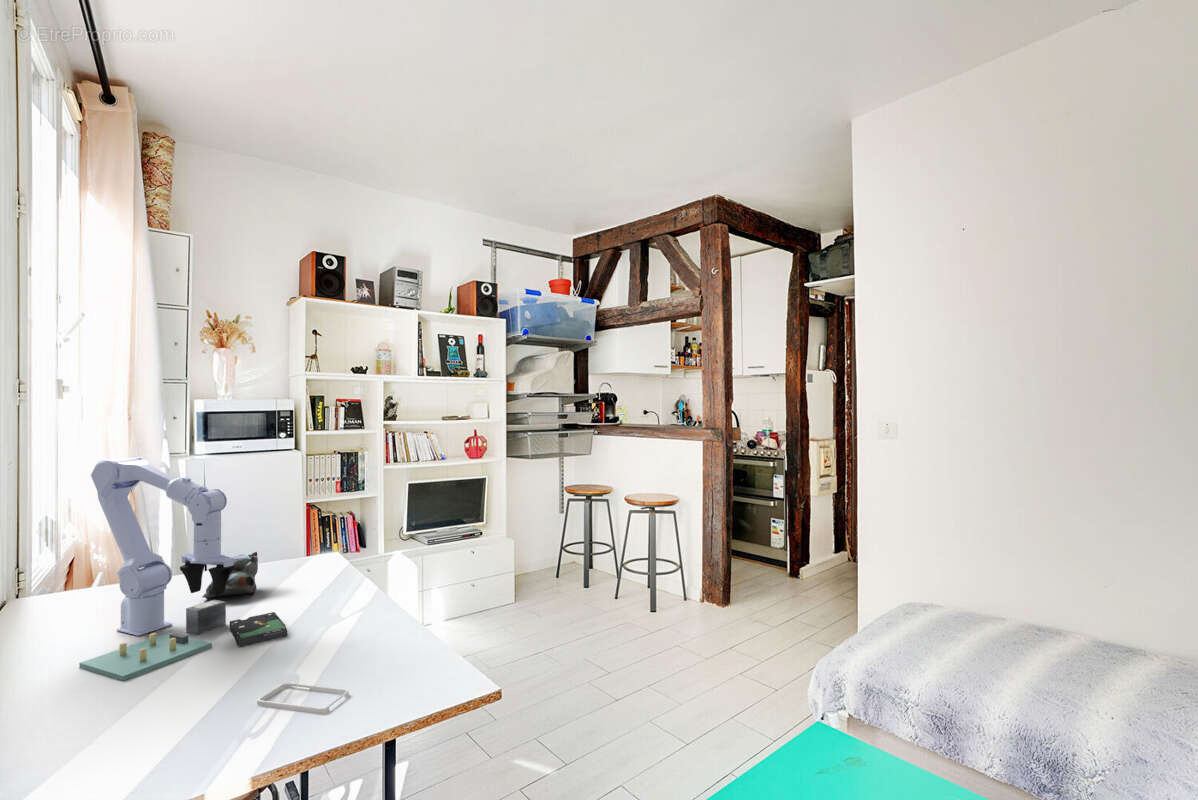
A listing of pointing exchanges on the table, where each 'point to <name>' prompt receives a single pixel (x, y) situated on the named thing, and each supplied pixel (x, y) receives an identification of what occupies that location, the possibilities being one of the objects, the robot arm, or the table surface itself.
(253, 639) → the disk drive
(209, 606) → the dark grey block
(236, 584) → the grey lumpy piece
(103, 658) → the teal peg board
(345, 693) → the phone case
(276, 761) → the table surface
